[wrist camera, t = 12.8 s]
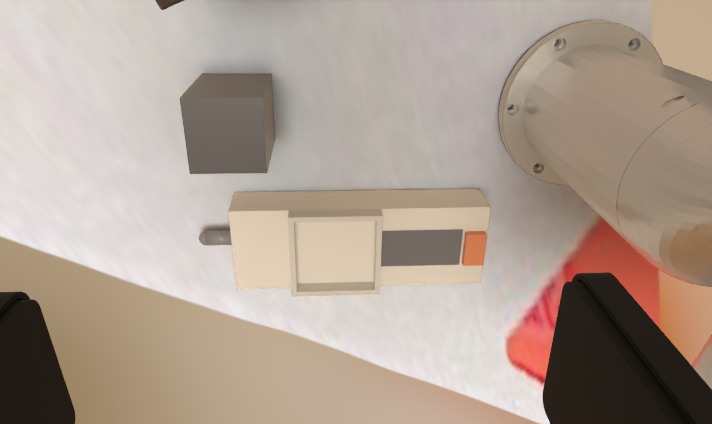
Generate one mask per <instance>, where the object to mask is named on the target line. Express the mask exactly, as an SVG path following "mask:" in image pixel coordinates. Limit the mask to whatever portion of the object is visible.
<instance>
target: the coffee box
mask: <svg viewBox="0 0 712 424" xmlns="http://www.w3.org/2000/svg"><path fill="white" fill-rule="evenodd" d="M182 1H184V0H156V2H157V4H158V6H159V7H160V9H162V10H164V9H166V8H168V7H170V6H172V5H174V4H177V3H179V2H182Z"/></svg>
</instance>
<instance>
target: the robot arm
mask: <svg viewBox="0 0 712 424" xmlns="http://www.w3.org/2000/svg"><path fill="white" fill-rule="evenodd" d="M557 39H558V44H557V45H556V46H554V44H555V41H556V40H557ZM630 41H631V44H630V45H629V43H630ZM510 105H512V108H511V109H509V110H508V107H509V106H510ZM499 128H500V132H501V137H502V140H503V143H504V145H505V147H506V149H507V151H508V153H509V154H510V155H511V157H512V158H513V159H514V161H515V162H516V163H517V164H518V165H519V166H520V167H521V168H522V169H523V170H524V171H526V172H527V173H528V174H530V175H531V176H533V177H535V178H537V179H540V180H542V181H545V182H548V183H553V184H559V185H569V186H570V187H571V188H572V189H573V190H574V191H575V192H576V193H577V194H578V195H579V196H580V197H581V198H582V199H583V200H584V201H585V202H586V203H587V204H588V205H589V206H590V207H591V208H592V209H593V210H595V211H596V212H597V213H598V214H599V215H600V216H601V217H602V218H603V219H604V220H605V221H606V222H607V223H608V224H609V225H610V226H611V227H612V228H613V229H614V230H615V231H616V232H617V233H618V234H619V235H620V236H621V237H622V238H623V239H624V240H625V241H627V242H628V243H629V244H630V245H631V246H632V247H633V248H634V249H635V250H636V251H637V252H638V253H639V254H640V255H641V256H642V257H643V258H645V259H646V260H647V261H648V262H649V263H651V264H652V265H653V266H655V267H656V268H657V269H659V270H661V271H662V272H664V273H666V274H668V275H669V276H672V277H674V278H676V279H679V280H682V281H685V282H688V283H691V284H696V285H701V286H708V287H712V81H709V80H706V79H703V78H700V77H697V76H695V75H692V74H689V73H686V72H683V71H680V70H677V69H675V68H672V67H669V66H666V65H663V63H662V60H661V58H660V57H659V54H658V53H657V51H656V49H655V47H654V46H653V45H652V44H651V43H650V42H649V41H648V40H647V39H646V38H645V37H644V36H643V35H641V34H640V33H638V32H637V31H635V30H634V29H632V28H629V27H626V26H623V25H620V24H617V23H613V22H608V21H584V22H579V23H574V24H570V25H568V26H565V27H563V28H560V29H558V30H555V31H554V32H552V33H550V34H549V35H547V36H546V37H544V38H542V39H541V40H539V41H538V42H537V43H536V44H535V45H534V46H533V47H531V48H530V49H529V50H528V51H527V52H526V53H525V54H524V56H523V57H522V58H521V59H520V60H519V62H518V63H517V64H516V65H515V67H514V69H513V71H512V72H511V74H510V76H509V78H508V79H507V82H506V84H505V87H504V90H503V92H502V95H501V101H500V106H499ZM536 164H537V165H536ZM535 165H536V166H535ZM534 166H535V167H534ZM543 404H544V409H545V412H546V415H547V417H548V419H549V421H550V424H712V335H711V336H710V338H709V339H708V341H707V342H706V344H705V346H704V347H703V349H702V350H701V352H700V353H699V355H698V356H697V358H696V359H695V361H694V363H693V364H692V366H691V365H690V364H689V362H688V361H687V360H686V359H685V358H684V357H683V355H682V354H681V353H680V352H679V351H678V350H677V348H676V347H675V346H674V345H673V344H672V343H671V341H670V340H669V339H668V338H667V337H666V336H665V334H664V333H663V332H662V331H661V330H660V329H659V327H658V326H657V325H656V324H655V323H654V322H653V320H652V319H651V318H650V317H649V316H648V315H647V313H646V312H645V311H644V310H643V309H642V308H641V307H640V305H639V304H638V303H637V302H636V301H635V300H634V298H633V297H632V296H631V295H630V294H629V293H628V291H627V290H626V289H625V288H624V287H623V286H622V284H621V283H620V282H619V281H618V280H617V279H616V277H615V276H614V275H612V274H611V273H580V274H576V275H575V276H574V278H573V280H572V282H566V283H565V284H564V286H563V290H562V295H561V300H560V305H559V311H558V316H557V321H556V326H555V332H554V337H553V342H552V348H551V353H550V358H549V363H548V369H547V374H546V379H545V384H544V390H543ZM0 424H75V411H74V407H73V404H72V402H71V398H70V395H69V392H68V389H67V386H66V383H65V381H64V378H63V375H62V371H61V368H60V366H59V363H58V359H57V356H56V353H55V350H54V347H53V344H52V342H51V339H50V335H49V332H48V329H47V326H46V323H45V320H44V317H43V314H42V312H41V308H40V306H39V304H38V303H37V301H35V300H30V298H29V296H28V295H27V294H26V293H23V292H0Z"/></svg>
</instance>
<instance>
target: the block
mask: <svg viewBox="0 0 712 424" xmlns="http://www.w3.org/2000/svg"><path fill="white" fill-rule="evenodd" d="M180 103H181V110H182V118H183V125H184V133H185V140H186V148H187V155H188V163H189V170H190V174H215V173H267V171H268V167H269V163H270V158H271V154H272V150H273V146H274V141H275V128H274V110H273V92H272V74H201V75H200V76H199V78H198V79H197V80H196V81H195V82H194V83H193V84H192V85H191V86H190V87H189V88H188V90H187V91H186V92H185V93H184V94H183V95H182V96H181V97H180Z"/></svg>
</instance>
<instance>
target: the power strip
mask: <svg viewBox="0 0 712 424" xmlns="http://www.w3.org/2000/svg"><path fill="white" fill-rule="evenodd" d="M490 210H491V207H490V205H489V203H488V202H487V200H486V199H485V197H484V196H483V194H482V193H481V191H480V190H479V189H420V190H351V191H282V192H235V193H234V196H233V199H232V202H231V205H230V208H229V211H228V214H229V224H230V230H209V231H203V232H202V233H201V234H200V236H199V240H200V242H201V243H202V244H203V245H232V252H233V261H234V271H235V280H236V289H263V288H291V291H292V296H327V295H366V294H380V286H383V285H423V284H463V283H481V275H482V268H483V262H484V254H485V247H486V240H487V232H488V224H489V217H490Z"/></svg>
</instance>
